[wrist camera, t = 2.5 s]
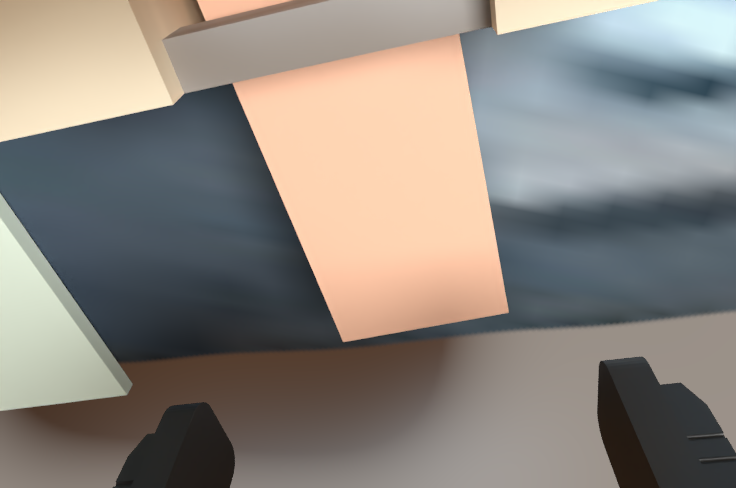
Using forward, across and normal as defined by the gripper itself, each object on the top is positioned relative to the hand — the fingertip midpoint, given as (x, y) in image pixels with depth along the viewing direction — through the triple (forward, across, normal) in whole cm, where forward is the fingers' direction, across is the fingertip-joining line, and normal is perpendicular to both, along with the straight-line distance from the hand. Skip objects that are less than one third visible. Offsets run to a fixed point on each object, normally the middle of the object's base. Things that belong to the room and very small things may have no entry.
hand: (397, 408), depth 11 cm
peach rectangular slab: (+8, 0, -4) cm, 10 cm away
